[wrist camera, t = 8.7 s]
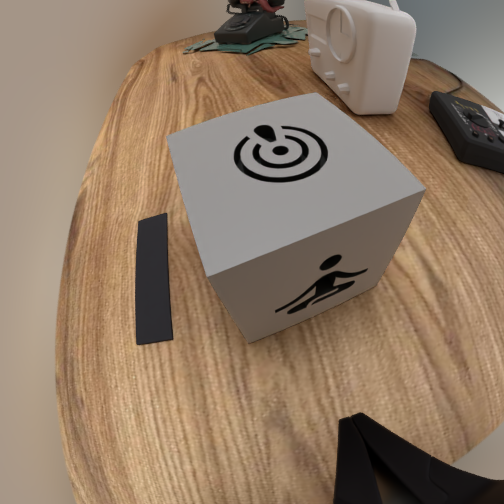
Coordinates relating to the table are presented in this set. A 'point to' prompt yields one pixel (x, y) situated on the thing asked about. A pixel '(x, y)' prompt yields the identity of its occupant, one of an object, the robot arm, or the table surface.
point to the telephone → (253, 28)
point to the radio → (361, 51)
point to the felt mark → (152, 282)
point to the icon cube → (291, 208)
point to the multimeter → (471, 130)
